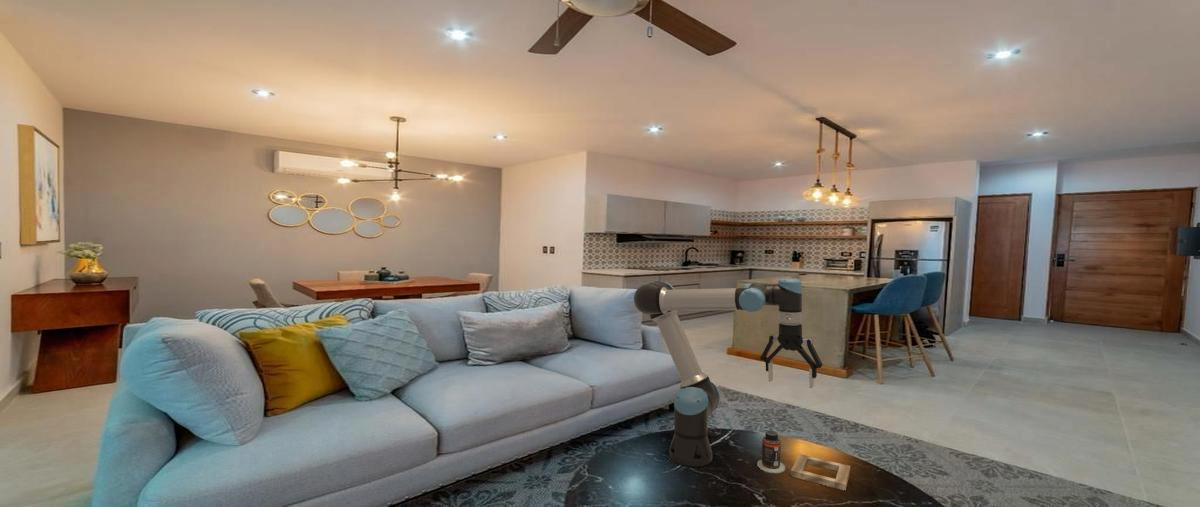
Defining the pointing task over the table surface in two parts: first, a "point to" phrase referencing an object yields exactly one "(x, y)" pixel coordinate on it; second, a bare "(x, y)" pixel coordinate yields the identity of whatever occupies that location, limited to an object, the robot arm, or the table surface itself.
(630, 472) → the table surface
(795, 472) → the oak holder
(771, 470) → the cream flat disc
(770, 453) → the supplement bottle
